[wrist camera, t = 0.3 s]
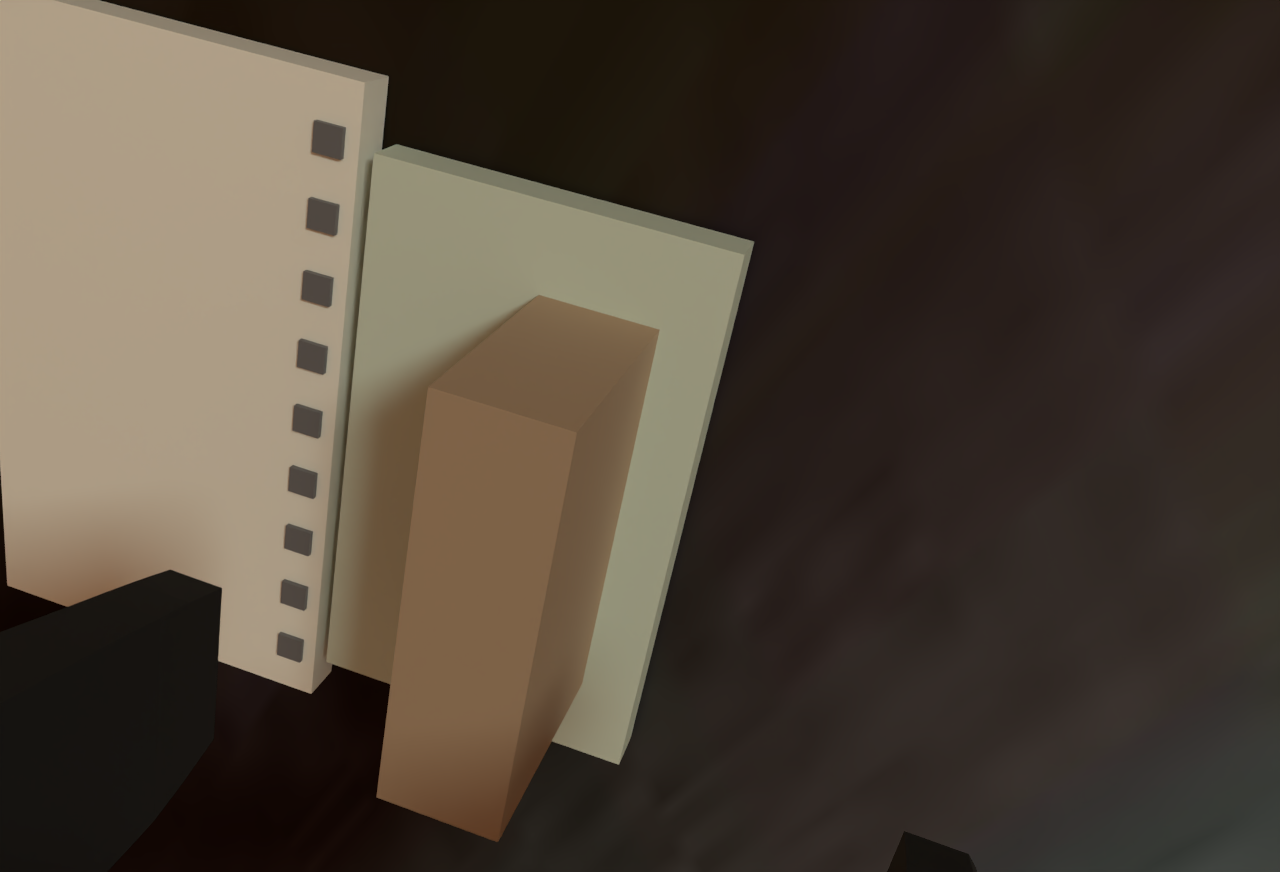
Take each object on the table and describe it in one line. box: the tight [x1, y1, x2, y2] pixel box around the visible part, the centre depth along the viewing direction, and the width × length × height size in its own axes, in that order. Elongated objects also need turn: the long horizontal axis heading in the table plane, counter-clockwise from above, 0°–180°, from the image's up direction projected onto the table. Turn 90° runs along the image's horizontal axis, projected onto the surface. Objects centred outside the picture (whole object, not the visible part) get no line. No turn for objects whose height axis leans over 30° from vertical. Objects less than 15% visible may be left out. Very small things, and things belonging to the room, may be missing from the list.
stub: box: [326, 145, 754, 842], centre depth 18 cm, size 10×6×5 cm, turn 169°
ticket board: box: [0, 0, 389, 694], centre depth 21 cm, size 12×7×1 cm, turn 169°
